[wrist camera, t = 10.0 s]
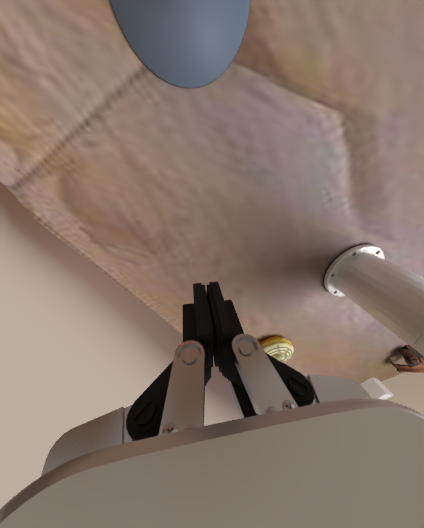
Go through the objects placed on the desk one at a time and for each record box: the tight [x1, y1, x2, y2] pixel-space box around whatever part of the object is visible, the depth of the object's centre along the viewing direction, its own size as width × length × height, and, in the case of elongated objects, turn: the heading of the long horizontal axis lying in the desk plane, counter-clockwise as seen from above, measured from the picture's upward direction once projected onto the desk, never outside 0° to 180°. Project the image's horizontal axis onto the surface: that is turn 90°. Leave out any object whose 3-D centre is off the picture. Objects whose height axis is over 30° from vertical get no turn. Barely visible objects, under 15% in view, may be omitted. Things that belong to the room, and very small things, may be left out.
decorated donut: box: [260, 336, 294, 363], centre depth 45 cm, size 10×11×4 cm
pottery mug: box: [388, 345, 424, 373], centre depth 59 cm, size 12×9×8 cm
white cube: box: [360, 378, 393, 400], centre depth 69 cm, size 6×6×6 cm
